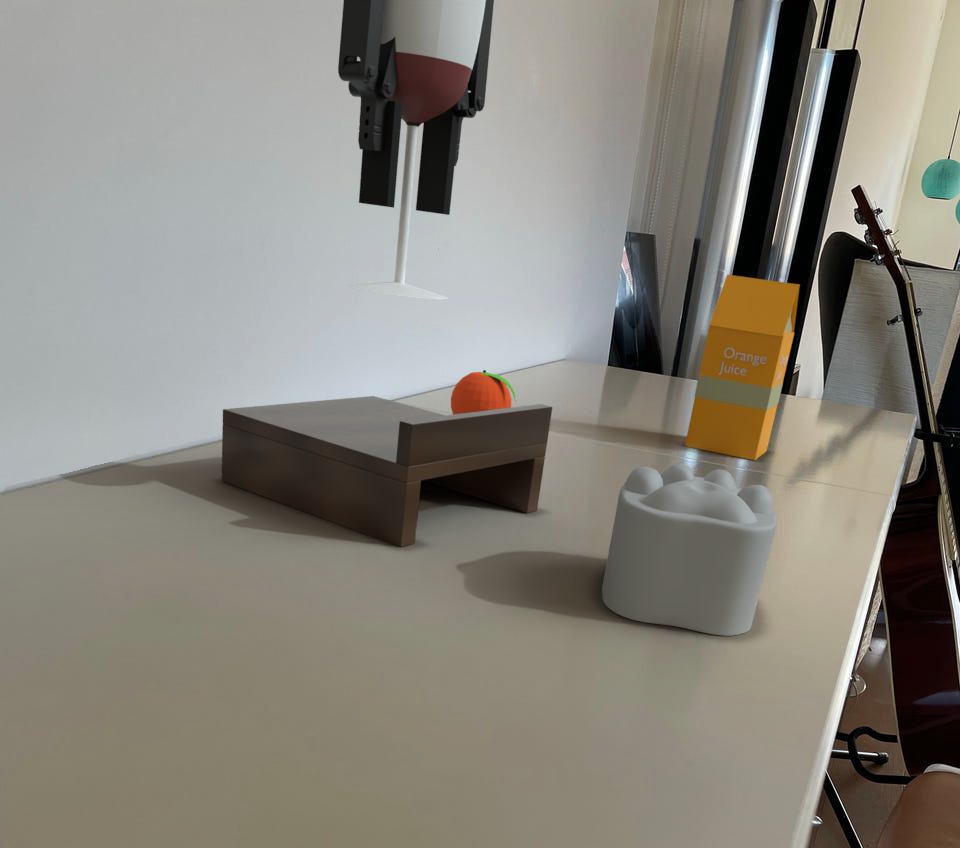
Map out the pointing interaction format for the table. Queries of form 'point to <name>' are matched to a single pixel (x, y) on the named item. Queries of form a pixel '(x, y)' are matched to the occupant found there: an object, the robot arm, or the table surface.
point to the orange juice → (743, 367)
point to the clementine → (480, 393)
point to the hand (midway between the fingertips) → (405, 208)
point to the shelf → (383, 458)
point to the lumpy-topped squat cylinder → (689, 550)
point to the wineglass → (426, 90)
